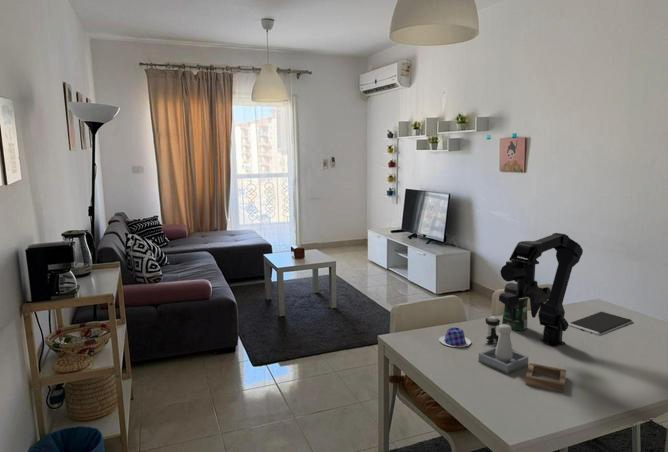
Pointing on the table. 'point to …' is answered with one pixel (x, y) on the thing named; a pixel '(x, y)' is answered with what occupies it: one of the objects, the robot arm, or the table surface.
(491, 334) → the push button
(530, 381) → the walnut socket
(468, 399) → the table surface
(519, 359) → the grey tray
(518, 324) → the coffee jar
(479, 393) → the table surface
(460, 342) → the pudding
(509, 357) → the salt shaker
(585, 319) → the dark flat slab
